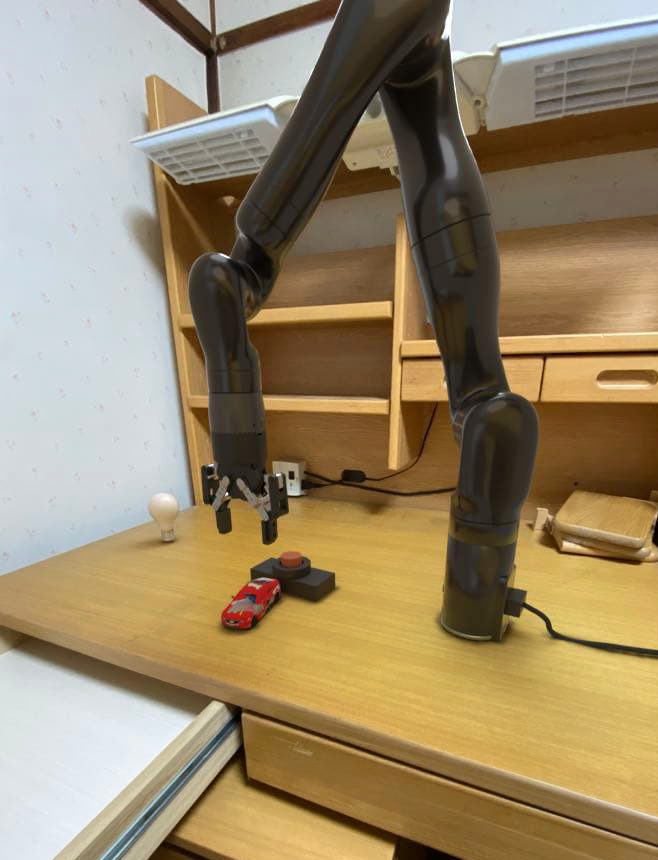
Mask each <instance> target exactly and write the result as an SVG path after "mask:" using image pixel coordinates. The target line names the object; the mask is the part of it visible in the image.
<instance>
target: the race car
mask: <svg viewBox="0 0 658 860" xmlns="http://www.w3.org/2000/svg"><path fill="white" fill-rule="evenodd" d="M281 596H282V592H281V586H280V583H279V581H278V580H276V579H271V578H258V579H255V580H252V581H251V580H250V581H249V582H248V583H246V584H245V585H244V586H243V587H242V588H240V589H239V591H238V592H237V593H236V594H235V595H230V597H231V599H232V600H231V602H230V603H228V605H227V606H226V607H225V608H224V609H223V610H222V612H221V615H220V620H221V622H222V625H223V626H224V627H225V628H229V629H232V630H233V629H234V630H244V629H250V628H251V629H252V628H255V627H256V626H257V624H258V621H260V620H261V619H262V618H263V616H265V615H266V613H267V612H269V610H270V609H271V608H272V607H273V606H274V605H275V604H277V603H278V602H279V600H280V598H281Z"/></svg>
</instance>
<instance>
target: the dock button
mask: <svg viewBox="0 0 658 860" xmlns="http://www.w3.org/2000/svg"><path fill="white" fill-rule="evenodd" d="M302 556H303V555H302V553H301V552H300V551H296V550H295V551H294V550H289V551H288V550H287V551H285V552H282V553H281V554H280V557H281V565H282V566H283V567H297V566H300V565H302Z"/></svg>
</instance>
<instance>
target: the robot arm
mask: <svg viewBox="0 0 658 860" xmlns="http://www.w3.org/2000/svg"><path fill="white" fill-rule="evenodd" d="M453 2H454V0H341V3H340V5H339V8H338V9H337V13H336V15H335V18H334V21H333V23H332V25H331V28H330V30H329V32H328V34H327V37H326V39H325V42H324V44H323V46H322V48H321V50H320V53H319V55H318V57H317V60H316V62H315V63H314V67H313V68H312V70H311V73H310V75H309V77H308V80H307V81H306V83H305V86H304V88H303V90H302V92H301V94H300V96H299V98H298V101H297V103H296V104H295V106H294V108H293V111H292V112H291V115H290V117H289V118H288V121H287V123H286V124H285V126H284V128H283V130H282V132H281V134H280V135H279V137H278V139H277V141H276V142H275V143H274V146H273V148H272V150H271V151H270V152H269V155H268V157H267V158H266V159H265V160H266V161H265V162H264V163H263V165H262V167H261V168H260V170H259V172H258V174H257V175H256V177H255V178H254V180H253V182H252V184H251V185H250V187H249V189H248V191H247V192H246V194H245V196H244V198H243V199H242V201H241V203H240V205H239V207H238V209H237V211H236V214H235V225H236V228H237V230H238V235H237V238H236V241H235V243H234V245H233V248H232V250H231V253H230V254H229V255H226V254H224V253H222V252H215V251H213V252H211V251H210V252H206V253H203V254H202V255H200V256H199V257H197V259H196V260H195V261H194V262H193V263H192V266H191V267H190V271H189V274H188V281H187V296H188V303H189V304H188V305H189V308H190V313H191V317H192V320H193V324H194V326H195V330H196V334H197V338H198V340H199V344H200V346H201V349H202V351H203V355H204V359H205V371H206V372H205V373H206V383H207V391H208V403H207V413H208V422H209V423H208V425H209V433H210V443H211V452H212V453H211V454H212V460H213V462H212V463H208V464H204V465H201V467H200V475H201V477H200V478H201V489H202V502H203V504H204V505H206V506H208V505H209V506H211V507H212V509H213V511H214V513H215V522H216V524H215V525H216V528H217V530H218V533H219V534H220V535H227V534H229V533H232V531H233V522H232V521H233V520H232V512H231V507H229V506H230V505H231V503H232V501H233V500H241V501H242V502H249V504H250V506H251V507H252V508H253V509H256V511H257V512H258V514H259V516H260V517H261V519H262V520H261V521H260V524H261V525H260V526H261V541H262V544H263V545H266V546H270V545H271V544H274V543H275V542H276V540H277V539H278V536H279V532H278V531H279V530H278V519H280V518H281V517H283V516H286V515H288V514H290V505H289V495H288V485H287V476H286V474H285V472H283V471H281V472H276V473H269V472H268V471H267V468H266V462H267V460H268V457H269V453H268V451H269V450H268V434H267V418H266V407H265V402H264V396H263V383H262V382H263V381H262V367H261V357H260V354H259V351H258V350H257V348H256V347H255V346H254V345H253V344H252V342H251V340H250V335H249V330H248V322H250V321H252V320H253V319H254V318H255V317H256V316H257V315H258V314H259V313H260V312H261V311H262V309H263V308H264V307H265V305H266V303H267V302H268V300H269V298H270V297H271V294H272V292H273V290H274V289H275V286H276V283H277V281H278V279H279V276H280V274H281V272H282V269H283V266H284V263H285V260H286V258H287V257H288V255H289V254H290V252H291V251H292V249H293V248H294V247H295V245H296V243H297V242H298V241H299V239H300V238H301V236H302V235H303V233H304V231H305V230H306V229H307V227H308V225H309V224H310V222H311V221H312V220H313V218H314V216H315V214H316V213H317V211H318V209H319V208H320V206H321V205H322V202H323V201H324V199H325V196H326V194H327V193H328V191H329V189H330V186H331V185H332V182H333V180H334V177H335V175H336V173H337V170H338V168H339V167H340V163H341V161H342V159H343V157H344V154H345V152H346V149H347V147H348V145H349V143H350V141H351V139H352V136H353V135H354V132H355V131H356V129H357V126H358V125H359V123H360V122H361V119H362V117H363V116H364V114H365V112H366V111H367V109H368V107H369V106H370V104H371V102H372V101H373V99H375V96H376V95H377V94H378V98H379V100H380V104H381V105H382V108H383V113H384V116H385V118H386V122H387V124H388V128H389V132H390V134H391V137H392V142H393V145H394V150H395V154H396V160H397V166H398V175H399V183H400V184H399V185H400V193H401V200H402V202H401V203H402V209H403V215H404V221H405V228H406V233H407V239H408V243H409V248H410V253H411V257H412V261H413V265H414V270H415V273H416V278H417V281H418V285H419V289H420V292H421V293H420V294H421V296H422V299H423V302H424V307H425V310H426V312H427V317H428V322H429V323H430V324H429V325H430V327H431V331H432V334H433V338H434V339H435V342H436V346H437V348H438V352H439V355H440V358H441V362H442V367H443V372H444V378H445V386H446V393H447V399H448V408H449V415H450V416H449V417H450V425H451V432H452V436H453V439H454V442H455V444H456V446H457V447H458V449H459V450H460V454H459V455H460V457H459V466H458V475H457V484H456V487H455V490H453V492H452V493H451V496H450V506H449V516H448V529H447V541H446V543H447V544H446V552H445V553H446V554H445V566H444V567H445V568H444V579H443V584H442V590H441V591H442V605H441V613H440V623H441V625H442V627H443V628H444V629H445V630H446V631H447V632H449V633H450V634H451V635H454V636H457V637H460V638H462V639H466V640H472V641H494V642H500V641H501V639H502V637H503V635H504V634H505V633H506V630H507V627H508V624H509V622H510V617H513V618H518V619H520V618H521V615H522V613H523V611H524V609H525V610H527V611H529V612H530V613H532V614H533V615H535V616H537V617H539V618H540V619H541V620H542V621H543V622H544V624H545V628H546V631H547V632H548V634H550V635H551V636H552V637H554V638H555V639H558V640H562V641H566V642H571V643H575V644H578V645H582V646H587V647H591V648H598V649H609V650H615V651H620V652H627V653H635V654H641V655H648V656H658V649H654V648H644V647H637V646H630V645H625V644H624V645H623V644H617V643H611V642H602V641H593V640H583V639H577V638H573V637H569V636H566V635H563V634H561V633H559V632H558V631H556V630H554V629H553V625H552V622H551V620H550V618H549V617H548V616H547V614H545V613H544V612H542V611H541V610H539V609H538V608H536V607H534V606H533V605H530V604H529V603H527V602H526V601H527V595H528V590H524V589H520V588H515V580H516V574H517V564H515V559H516V553H517V547H518V545H517V544H518V539H519V530H520V524H521V516H522V511H523V507H524V505H525V503H526V502H527V500H528V498H529V495H530V491H531V488H532V482H533V478H534V477H533V476H534V471H535V467H536V461H537V455H538V448H539V441H540V431H541V430H540V429H541V428H540V419H539V415H538V412H537V410H536V408H535V406H534V404H532V402H531V401H530V400H529V399H528V398H526V397H524V396H522V395H521V394H519V393H515V392H512V390H511V387H510V384H509V381H508V378H507V374H506V371H505V366H504V363H503V359H502V354H501V348H500V339H499V338H500V337H499V335H500V334H499V332H500V331H499V326H500V324H499V323H500V308H501V289H502V288H501V287H502V277H501V275H502V274H501V273H502V271H501V260H500V251H499V243H498V237H497V233H496V227H495V222H494V216H493V211H492V206H491V203H490V199H489V195H488V192H487V187H486V185H485V182H484V179H483V177H482V174H481V171H480V169H479V166H478V164H477V160H476V159H475V156H474V154H473V151H472V149H471V147H470V145H469V142H468V139H467V136H466V134H465V132H464V128H463V125H462V120H461V117H460V111H459V105H458V100H457V99H458V98H457V92H456V91H457V90H456V84H455V75H454V68H453V66H454V65H453V57H452V42H451V41H452V39H451V25H452V23H451V22H452V12H453V5H454V4H453ZM260 496H261V497H260ZM259 497H260V498H259Z"/></svg>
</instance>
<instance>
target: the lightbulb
mask: <svg viewBox="0 0 658 860" xmlns="http://www.w3.org/2000/svg"><path fill="white" fill-rule="evenodd" d="M147 511H148V513H149V515H150V517H151V519H153V520H154V521H155V523H156V524H157V526H158V528H159V529H160V534H161V540H162V541H164V542H167V543H171V542H172V541H174V540H175V539H176V537H175V529H174V527H175V522H176V519H177V517H178V515H179V512H180V503H179V501H178V499H177V498H176V497H175V496H174V495H172V494H171V493H168V492H159V493H156V494H154V495H153V496H152V497H151V498H150V499H149V501H148V504H147Z"/></svg>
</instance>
